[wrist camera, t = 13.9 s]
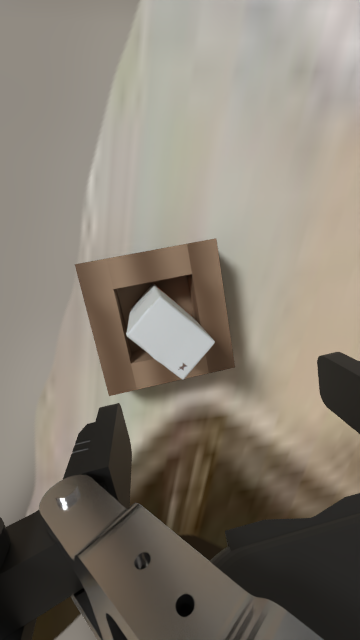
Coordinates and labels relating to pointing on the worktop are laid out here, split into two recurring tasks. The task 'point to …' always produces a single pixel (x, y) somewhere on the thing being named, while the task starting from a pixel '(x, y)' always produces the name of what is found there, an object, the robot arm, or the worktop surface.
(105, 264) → the holder
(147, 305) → the skincare box
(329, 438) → the worktop surface
